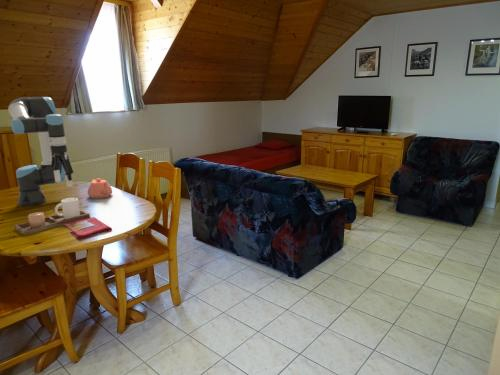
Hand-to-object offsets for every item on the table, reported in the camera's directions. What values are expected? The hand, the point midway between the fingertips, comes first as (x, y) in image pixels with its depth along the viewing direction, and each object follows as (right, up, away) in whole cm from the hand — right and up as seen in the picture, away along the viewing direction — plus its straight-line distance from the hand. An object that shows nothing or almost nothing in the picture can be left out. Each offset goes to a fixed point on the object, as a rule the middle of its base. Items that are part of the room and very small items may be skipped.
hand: (64, 184), depth 194 cm
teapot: (0, -8, +47) cm, 48 cm away
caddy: (-5, -22, -1) cm, 22 cm away
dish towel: (+15, -24, -6) cm, 29 cm away
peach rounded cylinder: (-10, -22, -7) cm, 25 cm away
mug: (-1, -19, +6) cm, 20 cm away
